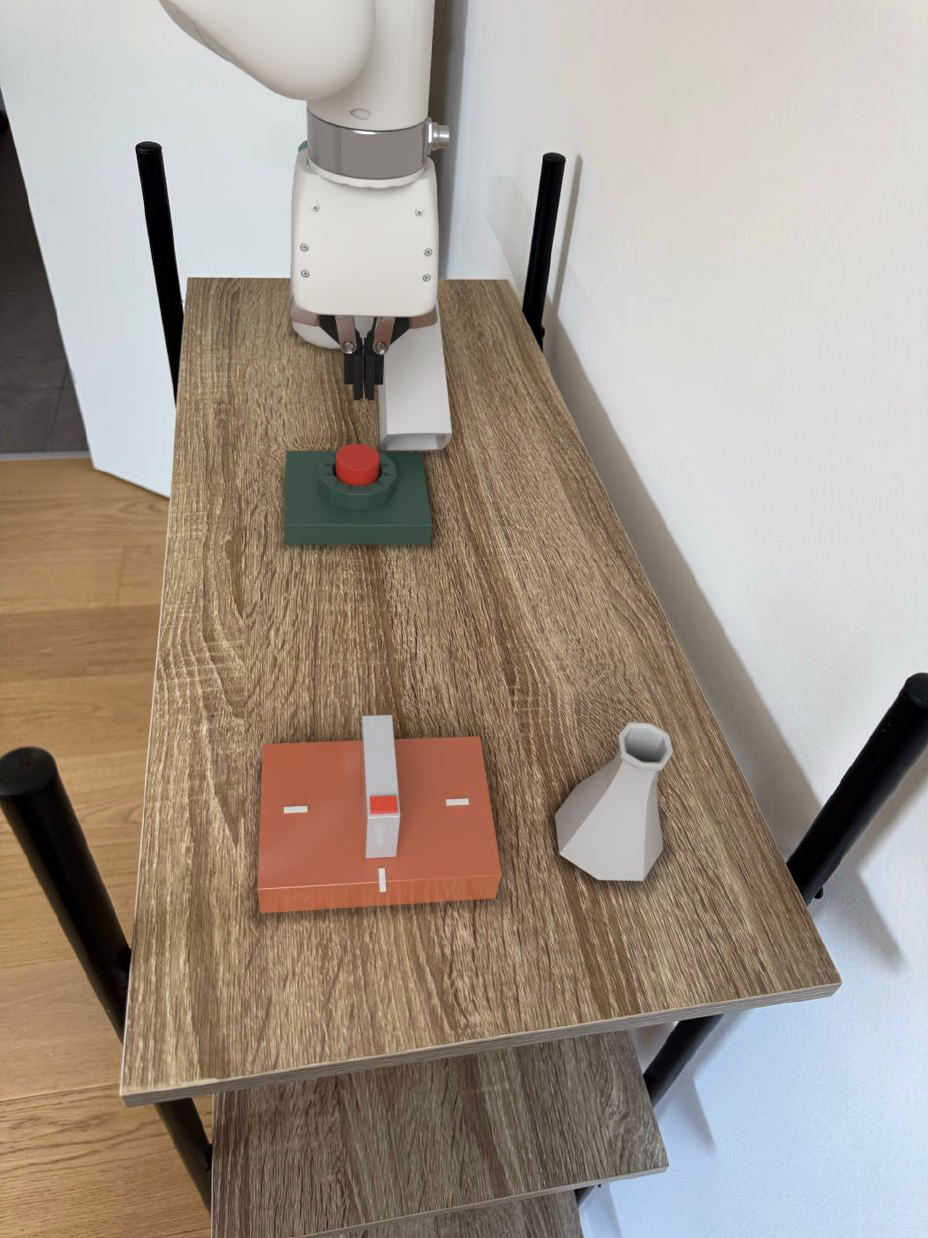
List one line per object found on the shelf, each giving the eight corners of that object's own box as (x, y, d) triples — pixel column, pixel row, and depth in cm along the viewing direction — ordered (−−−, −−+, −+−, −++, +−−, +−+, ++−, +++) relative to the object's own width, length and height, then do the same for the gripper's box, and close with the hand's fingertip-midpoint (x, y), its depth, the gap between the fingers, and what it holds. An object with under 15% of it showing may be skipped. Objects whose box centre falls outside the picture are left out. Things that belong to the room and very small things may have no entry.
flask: (669, 805, 61) (714, 714, 54) (654, 900, 56) (701, 814, 49) (565, 773, 62) (596, 680, 55) (541, 864, 57) (571, 774, 50)
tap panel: (259, 923, 53) (256, 898, 50) (265, 762, 60) (262, 734, 58) (497, 908, 55) (504, 883, 53) (473, 754, 62) (479, 726, 60)
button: (336, 486, 75) (336, 469, 74) (335, 460, 78) (335, 443, 76) (379, 487, 76) (380, 470, 74) (377, 460, 78) (378, 443, 77)
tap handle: (360, 758, 58) (362, 713, 54) (388, 757, 58) (392, 712, 54) (365, 859, 53) (367, 815, 49) (396, 857, 53) (400, 814, 50)
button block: (285, 545, 75) (283, 507, 72) (287, 470, 82) (285, 433, 79) (430, 545, 77) (434, 508, 74) (420, 471, 84) (423, 435, 81)
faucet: (384, 433, 79) (369, 210, 80) (368, 476, 95) (356, 289, 96) (455, 432, 80) (440, 212, 81) (427, 475, 96) (415, 290, 97)
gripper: (475, 126, 61) (452, 366, 75) (248, 112, 59) (266, 362, 73) (491, 170, 56) (463, 419, 70) (243, 157, 54) (264, 417, 67)
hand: (363, 390), depth 71 cm, fingers closed
